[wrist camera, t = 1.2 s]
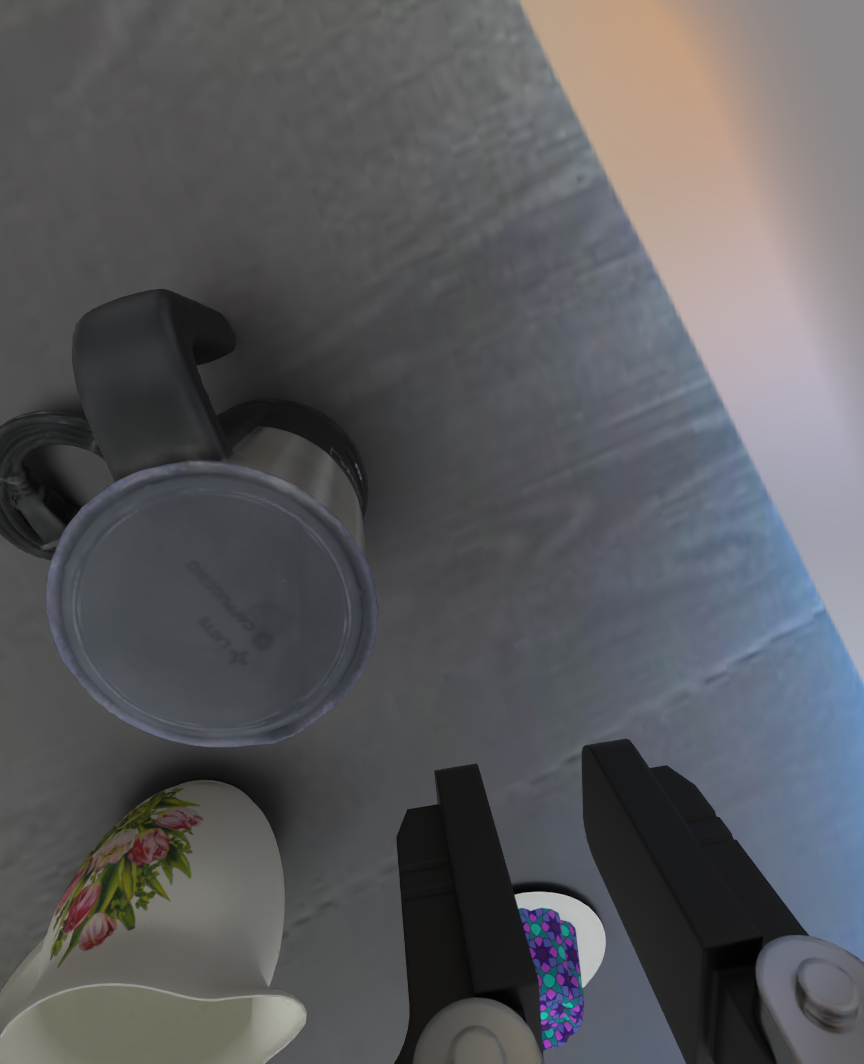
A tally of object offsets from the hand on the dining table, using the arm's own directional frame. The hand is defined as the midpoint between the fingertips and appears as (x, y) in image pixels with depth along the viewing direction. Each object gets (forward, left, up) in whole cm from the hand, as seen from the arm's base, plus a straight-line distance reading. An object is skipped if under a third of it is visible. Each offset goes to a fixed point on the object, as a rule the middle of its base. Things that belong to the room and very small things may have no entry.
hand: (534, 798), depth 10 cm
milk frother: (+1, +11, -23) cm, 26 cm away
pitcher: (-20, +16, -23) cm, 35 cm away
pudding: (-35, -4, -23) cm, 42 cm away
